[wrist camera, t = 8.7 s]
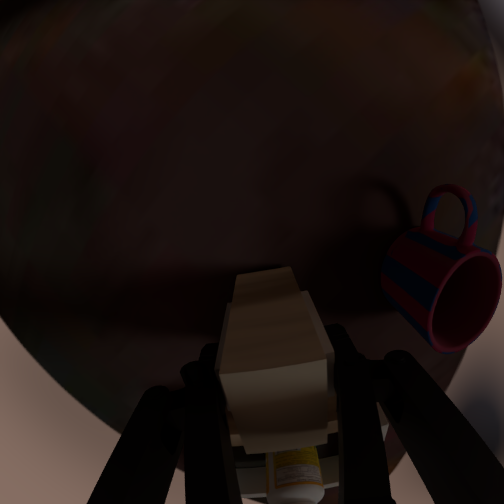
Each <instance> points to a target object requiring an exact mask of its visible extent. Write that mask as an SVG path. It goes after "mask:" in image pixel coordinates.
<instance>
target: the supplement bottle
mask: <svg viewBox="0 0 504 504" xmlns="http://www.w3.org/2000/svg"><path fill="white" fill-rule="evenodd" d="M266 496H267V501H268V503H269V504H317V502H319V501H320V500H321V499H322V498H323V496H324V485H323V480H322V475H321V470H320V465H319V459H318V454H317V449H316V445H315V446H310V447H304V448H298V449H291V450H284V451H276V452H267V453H266Z"/></svg>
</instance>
